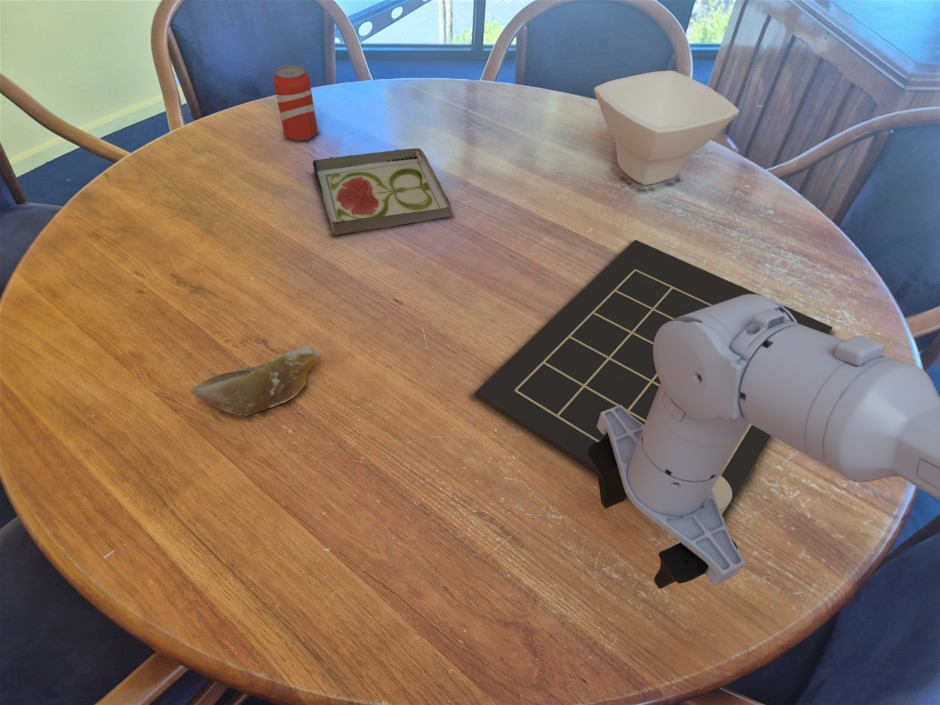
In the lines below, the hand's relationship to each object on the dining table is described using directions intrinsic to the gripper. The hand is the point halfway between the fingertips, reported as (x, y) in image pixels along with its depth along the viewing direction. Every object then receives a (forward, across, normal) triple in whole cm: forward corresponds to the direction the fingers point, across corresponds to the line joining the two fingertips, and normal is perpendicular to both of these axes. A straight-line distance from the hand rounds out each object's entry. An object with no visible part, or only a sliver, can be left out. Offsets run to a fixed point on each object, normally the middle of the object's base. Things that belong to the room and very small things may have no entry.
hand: (638, 539), depth 52 cm
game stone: (+9, +4, -13) cm, 16 cm away
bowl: (+11, +61, -48) cm, 78 cm away
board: (+10, +22, -22) cm, 33 cm away
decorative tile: (+11, +73, -2) cm, 74 cm away
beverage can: (+11, +98, +5) cm, 99 cm away
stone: (+11, +38, +25) cm, 47 cm away
